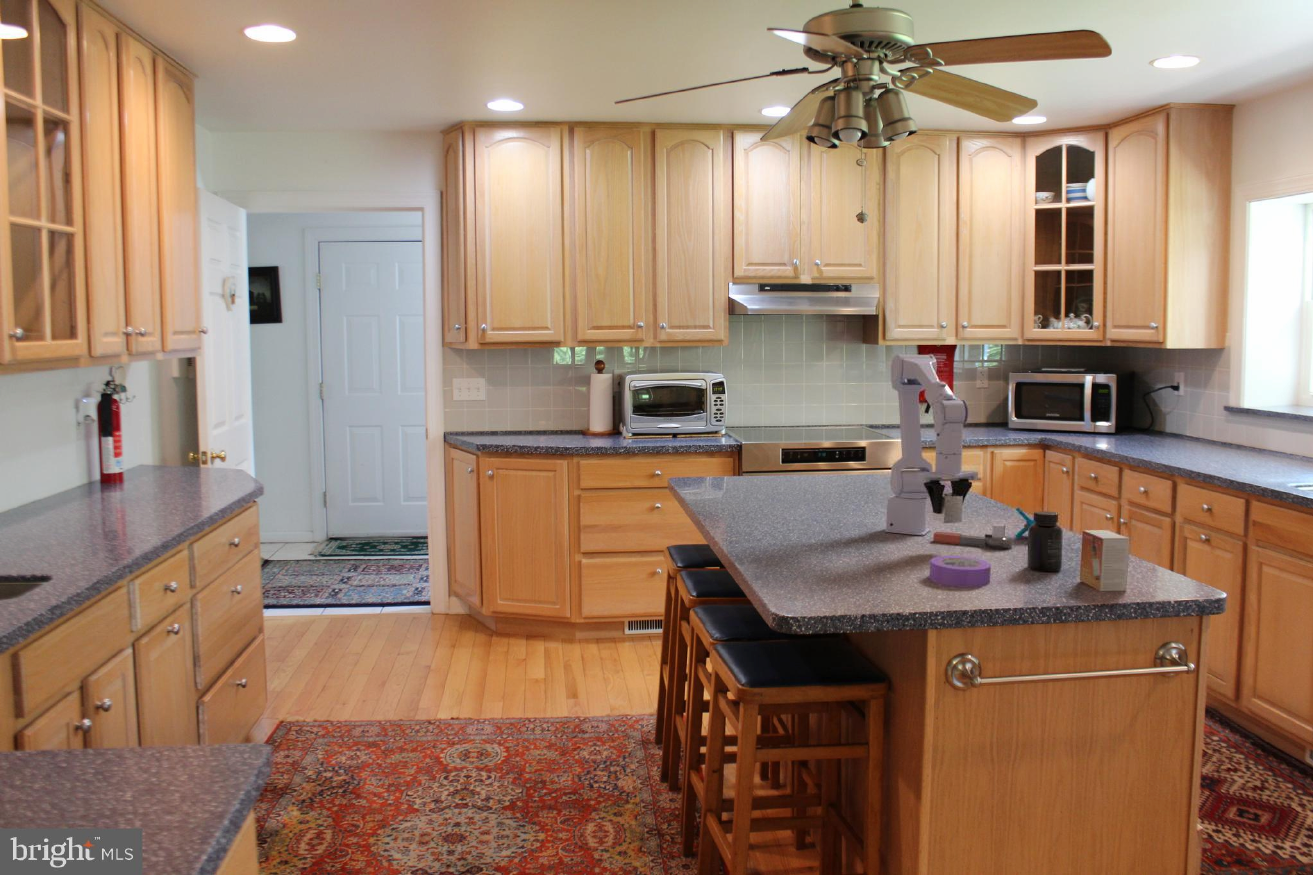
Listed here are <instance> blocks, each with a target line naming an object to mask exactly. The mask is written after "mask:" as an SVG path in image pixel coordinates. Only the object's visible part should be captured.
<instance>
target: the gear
mask: <svg viewBox="0 0 1313 875" xmlns="http://www.w3.org/2000/svg"><path fill="white" fill-rule="evenodd" d="M1015 511H1016V512H1017V513H1018V514H1019V515H1020V516H1021V517H1022V519H1024V520H1025V523H1024V525H1023V528H1021V529H1020V530H1019V531H1018V532H1017V533H1016V534H1015V535H1014V536H1015V538H1016V539H1017V538H1018V539H1020V538H1021V537H1022V536H1023V535H1025V533H1028V529H1029V527H1030V526H1031V525H1032V524H1034V523H1035V521H1033V519H1032V518H1030V517H1028V515H1027V514H1026V513H1025V512H1024V511H1023V510H1022V509H1021V508H1020V507H1017V508H1016V509H1015Z"/></svg>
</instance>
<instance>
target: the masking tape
mask: <svg viewBox="0 0 1313 875" xmlns="http://www.w3.org/2000/svg"><path fill="white" fill-rule="evenodd" d="M929 564H930V565H929V579H930V580H931V581H932V580H933V582H934V581H935V582H934V583H937V584H940V583H941V585H944V586H950V585H952V586H951V587H959V586H964V587H963V588H974V587H975V586H978V587H984V586H987V585H989V584H990V583H991V569H992V568H991V567H992V565H991V563H990V562H988V561H986V560H984V559H982V558H981V559H980V558H976V557H971V556H965V555H964V556H963V555H942V556H941V555H940V556H935V557H932V558H931V559H930V562H929ZM965 586H966V587H965ZM975 588H976V587H975Z"/></svg>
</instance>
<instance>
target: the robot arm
mask: <svg viewBox="0 0 1313 875" xmlns="http://www.w3.org/2000/svg"><path fill="white" fill-rule="evenodd" d="M891 360H892V361H891V365H890V380H891V382H890V383H891V388H892V389H893V390H894V391H896V392H897V395H898V396H897V398H898V410H899V412H898V413H899V426H900V427H899V428H900V445H901V446H900V447H901V457H900V458H899V459H898V460H897V461H895V462H894V463H893V464H892V466H891V469H890V470H891V471H890V479H889V484H890V490H891V493H893V495H890V496H888V498H887V499H888V500H887V503H886V526H885V527H886V529H885V532H886V533H892V534H893V533H894V534H902V535H903V534H905V535H914V536H915V535H917V536H925V535H926V534H928V533H929V532H930V531H931V528H930V527H929V528H928V527H927V513H928V511H927V510H928V498H929V499H930V500H929V501H930V503H931V508H932V514H933V513H936V514H941V509H942V497H943V493H944V491H945V488H946V485H945V484H942V482H950V486H951V487H950V488H951V493H954V494H957V495H961V496H963V503H962V506H963V505H964V502H965V499H966V497H967V496H968V493H969V491H970V490H971V488H972V487H973V482H972V481H978V480H979V471H975V470H962V466H963V464H962V463H963V444H964V443H963V441H964V440H963V438H964V437H963V436H964V426H965V425H966V424H967V422H968V421H969V406H968V403H967V401H966V400H965V399H961V398H957V397H956V395H955V394H954V393H953V391H952V390H951V389H950V387H949V385H948V384H947V383H946V382H945V381H940V379H939V377H938V375H937V369H938V364H937V359H936V358H935V356H934V355H933V354H931V353H930V354H899V353H898V354H895V355H894V356H893V358H892V359H891ZM924 390H925V391H924ZM922 391H924V399H926V401H927V403H928V405H929V406H930V407H931V410H932V418H933V419H932V420H933V424H934V428H933V429H934V433H936V434H935V435H936V436H935V437H936V439H935V440H936V441H935V464H934V465H935V467H934V468H935V469H934V468H933V464H932V463H931V462H930V461H929V460H927V459H926V458H924V457H923V450H922V449H923V447H922V433H921V431H922V430H921V415H920V414H921V413H920V400H919V399H920V398H919V395H920V392H922Z"/></svg>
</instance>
